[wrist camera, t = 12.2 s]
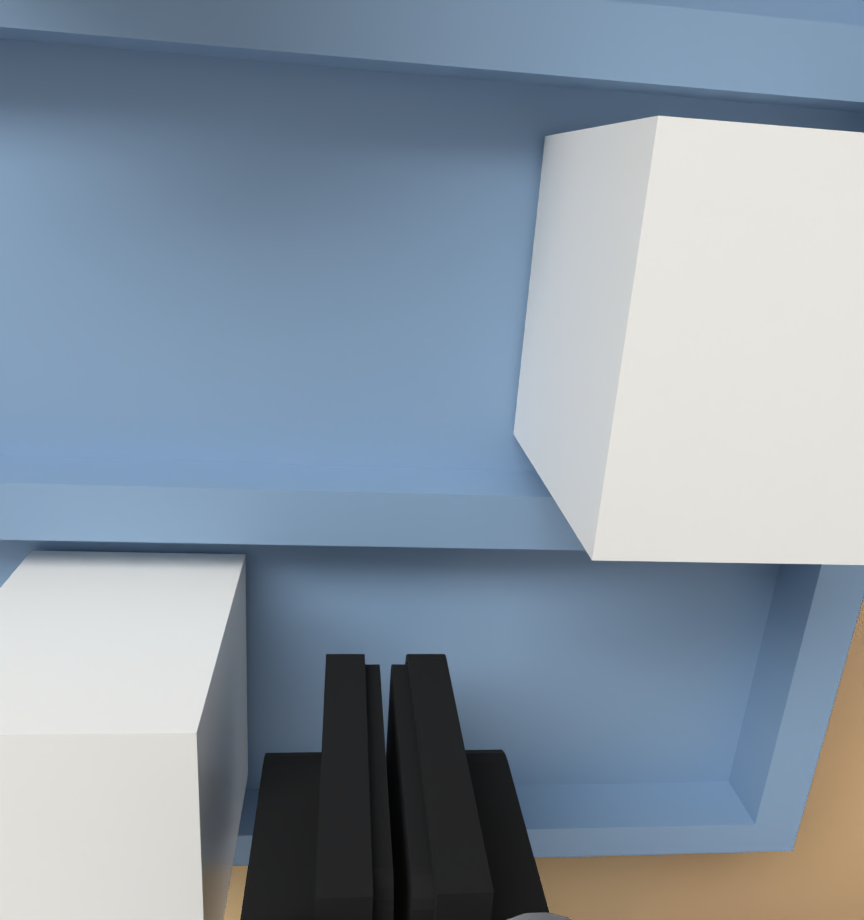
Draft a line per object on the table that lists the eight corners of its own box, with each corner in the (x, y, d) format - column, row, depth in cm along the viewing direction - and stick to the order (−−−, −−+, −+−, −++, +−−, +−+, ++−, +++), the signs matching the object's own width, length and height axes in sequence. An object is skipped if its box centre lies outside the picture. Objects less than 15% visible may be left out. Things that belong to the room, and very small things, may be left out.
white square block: (245, 554, 12) (195, 732, 8) (247, 773, 13) (206, 1014, 9) (31, 550, 11) (-124, 735, 8) (56, 776, 13) (-65, 1027, 9)
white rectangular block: (767, 153, 11) (997, 143, 7) (711, 441, 12) (877, 565, 8) (544, 135, 10) (658, 115, 6) (513, 434, 12) (591, 560, 8)
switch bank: (1009, -427, 10) (1222, -621, 8) (731, 751, 16) (800, 855, 14) (-415, -671, 8) (-739, -1030, 6) (-124, 761, 14) (-223, 882, 12)
